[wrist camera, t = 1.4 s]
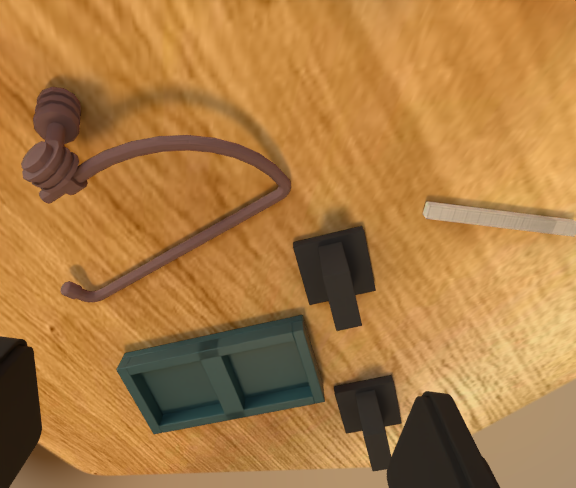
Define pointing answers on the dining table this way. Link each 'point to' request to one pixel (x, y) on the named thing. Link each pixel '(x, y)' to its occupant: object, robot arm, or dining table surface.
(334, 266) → the dark brown stand
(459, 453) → the robot arm
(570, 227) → the ruler
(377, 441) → the pad
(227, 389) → the dock board
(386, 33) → the dining table surface
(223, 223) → the toilet paper hanger
